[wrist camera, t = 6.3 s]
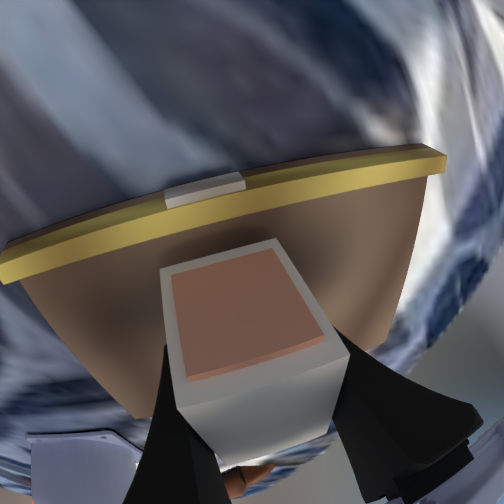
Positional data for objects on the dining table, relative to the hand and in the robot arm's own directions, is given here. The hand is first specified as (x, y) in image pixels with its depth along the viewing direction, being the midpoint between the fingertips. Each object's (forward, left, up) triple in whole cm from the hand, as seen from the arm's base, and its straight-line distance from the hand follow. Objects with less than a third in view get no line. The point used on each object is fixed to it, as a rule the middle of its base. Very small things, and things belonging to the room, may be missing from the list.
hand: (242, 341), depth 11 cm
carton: (0, 0, -1) cm, 1 cm away
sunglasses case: (-8, -39, -4) cm, 40 cm away
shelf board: (+1, -2, -3) cm, 4 cm away
